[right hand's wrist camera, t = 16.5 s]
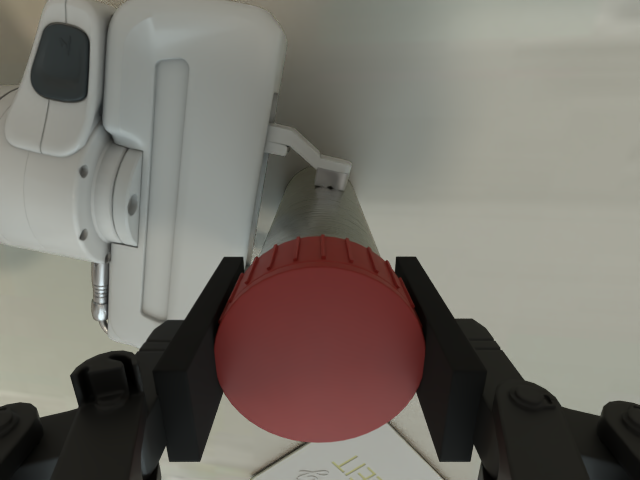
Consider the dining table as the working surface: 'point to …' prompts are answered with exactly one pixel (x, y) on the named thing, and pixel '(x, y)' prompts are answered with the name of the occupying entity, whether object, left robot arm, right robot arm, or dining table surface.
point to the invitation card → (354, 460)
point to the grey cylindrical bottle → (318, 213)
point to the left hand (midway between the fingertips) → (334, 231)
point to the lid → (319, 341)
